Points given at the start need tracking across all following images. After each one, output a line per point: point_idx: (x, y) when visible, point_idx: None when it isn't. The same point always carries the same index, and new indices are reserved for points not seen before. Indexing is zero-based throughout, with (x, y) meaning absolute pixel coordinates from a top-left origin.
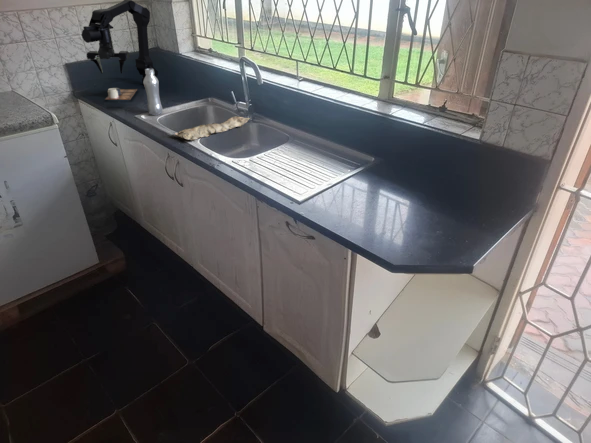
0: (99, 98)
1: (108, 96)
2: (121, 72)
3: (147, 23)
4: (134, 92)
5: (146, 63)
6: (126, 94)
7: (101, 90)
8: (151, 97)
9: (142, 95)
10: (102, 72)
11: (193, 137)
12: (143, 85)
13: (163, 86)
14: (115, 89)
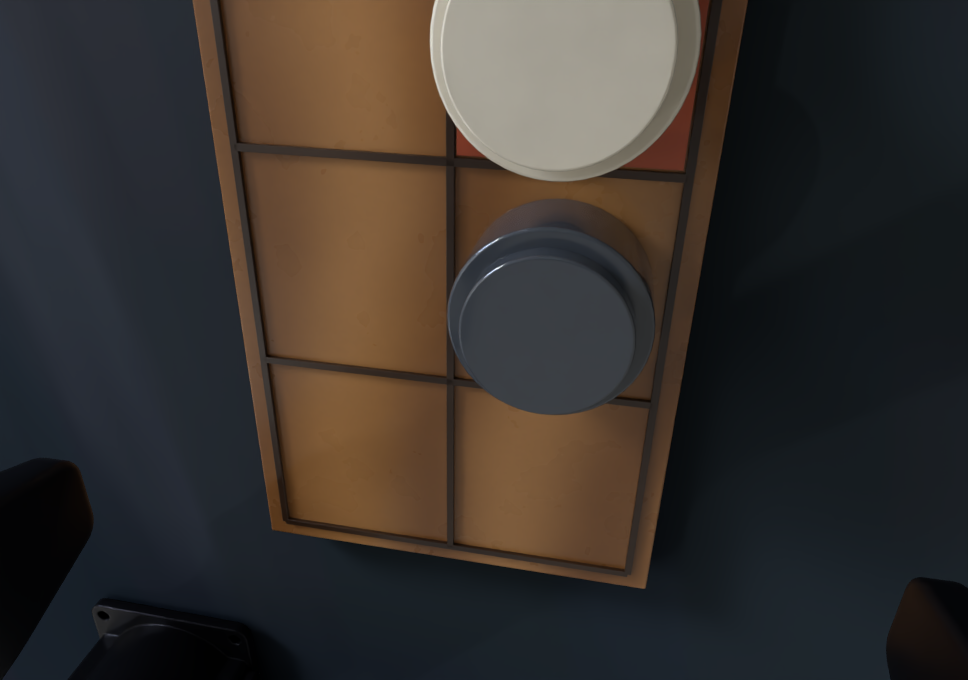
0: (917, 124)
1: (701, 95)
2: (5, 474)
3: None
4: (255, 361)
5: None
6: (357, 248)
7: (867, 625)
8: None
9: (133, 277)
10: (903, 650)
11: None
12: (249, 676)
13: (46, 647)
14: (449, 6)
